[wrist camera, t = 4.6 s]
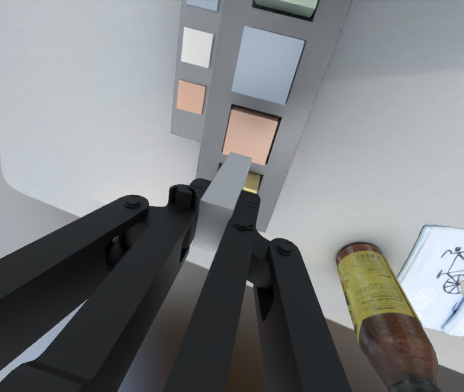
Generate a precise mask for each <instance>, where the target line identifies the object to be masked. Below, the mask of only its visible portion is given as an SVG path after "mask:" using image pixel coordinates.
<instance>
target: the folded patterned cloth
mask: <svg viewBox="0 0 464 392" xmlns="http://www.w3.org/2000/svg"><path fill="white" fill-rule="evenodd" d="M397 279H398V281H399V283H400V285H401V287H402V289H403V290H404V292H405V294H406V296H407V298H408V300H409V301H410V303H411V305H412V307H413V309H414V310H415V312H416V314H417V316H418V318H419V320H420V321H421V323H422V326H423V327H426V328H430V329H435V330H441V331H444V332H445V333H447V334H449V335H454V336H463V337H464V296H463V295H462V294H461V293H460V292H461V291H460V285H459V284H460V283H461V282H462V281H464V229H461V228H454V227H446V226H437V225H425V226H424V228H423V230H422V232H421V234H420V236H419V238H418V240H417V242H416V244H415V246H414V248H413V250H412V252H411V254H410V256H409V257H408V259H407V261H406V263H405V265H404V267H403V268H402V270H401V272H400V274H399V275H398V277H397Z"/></svg>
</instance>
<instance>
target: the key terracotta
mask: <svg viewBox="0 0 464 392" xmlns="http://www.w3.org/2000/svg"><path fill="white" fill-rule="evenodd" d="M278 118H279V116H276V115H272V114H268V113H265V112H261V111H257V110H254V109H250V108H246V107H242V106H239V105H236V106H235V107H234V108H233V109H232V110H231V115H230V119H229V124H228V129H227V134H226V138H225V143H224V148H223V153H222V154H225V155H229V154H230V152H233V153H237V154H240V155H244V156H247V157H251V158H252V161H251V162H254V163H257V164H261V165H265V162H266V159H267V156H268V153H269V149H270V146H271V143H272V140H273V137H274V133H275V130H276V127H277V124H278Z"/></svg>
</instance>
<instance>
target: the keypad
mask: <svg viewBox="0 0 464 392" xmlns="http://www.w3.org/2000/svg"><path fill="white" fill-rule="evenodd" d="M351 2H352V0H318V1H317V5H316V8H315V10H314V14H313V17H312V20H311V22H310V21H306V20H302V19H298V18H293V17H289V16H285V15H281V14H277V13H273V12H269V11H265V10H261V9H257V5H256V3H255V1H254V0H182V8H181V19H180V31H179V42H178V53H177V65H176V76H175V87H174V99H173V110H172V121H171V134H174V135H178V136H181V137H185V138H188V139H192V140H196V141H199V142H201V148H200V155H199V161H198V167H197V174H196V179H198V178H203V179H206V180H209V181H213V179H214V177H215V175H216V174H217V172H218V170H219V169H220V167H221V165H222V164H223V163H224V162H225V160H226V159H227V157H228V155H225V154H222V153H223V148H224V143H225V138H226V134H227V129H228V124H229V119H230V115H231V110H232V109H233V108H234V107H235V105H239V106H242V107H246V108H250V109H254V110H257V111H261V112H265V113H268V114H272V115H276V116H280V117H281V118H280V121H279V124H278V127H277V131H276V134H275V137H274V140H273V143H272V146H271V150H270V153H269V156H267V159H266V162H265V165H261V164H257V163H254V162H251V164H250V168H249V171H251V172H254V173H258V174H261V175H262V178H261V181H260V184H259V187H258V191H257V194H258V195H259V197H260V199H261V202H260V207H259V212H258V217H257V222H256V229H257V230H258V231H261V232H266V229H267V227H268V224H269V221H270V219H271V216H272V213H273V211H274V208H275V205H276V202H277V200H278V197H279V194H280V192H281V189H282V186H283V184H284V181H285V178H286V176H287V173H288V170H289V168H290V165H291V162H292V160H293V157H294V154H295V152H296V149H297V146H298V144H299V141H300V138H301V136H302V133H303V130H304V128H305V125H306V122H307V120H308V117H309V114H310V112H311V109H312V106H313V104H314V101H315V98H316V96H317V93H318V90H319V88H320V85H321V82H322V80H323V77H324V74H325V72H326V69H327V66H328V64H329V61H330V58H331V56H332V53H333V50H334V48H335V45H336V42H337V40H338V37H339V34H340V32H341V29H342V26H343V24H344V21H345V18H346V16H347V13H348V10H349V8H350V5H351ZM244 26H248V27H252V28H256V29H260V30H264V31H268V32H272V33H276V34H280V35H284V36H288V37H292V38H296V39H300V40H304V41H305V42H304V46H303V49H302V52H301V55H300V58H299V61H298V65H297V68H296V71H295V74H294V77H293V80H292V84H291V87H290V90H289V93H288V96H287V99H286V102H285V105H282V104H278V103H274V102H270V101H267V100H263V99H259V98H255V97H252V96H248V95H244V94H240V93H237V92H233V91H231V90H232V85H233V80H234V75H235V70H236V65H237V60H238V55H239V50H240V45H241V40H242V35H243V30H244Z"/></svg>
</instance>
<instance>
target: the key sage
mask: <svg viewBox="0 0 464 392" xmlns="http://www.w3.org/2000/svg"><path fill="white" fill-rule="evenodd" d="M254 1H255V3H256V5H259V6H264V7H268V8H272V9H276V10H280V11H284V12H288V13H292V14H296V15H300V16H304V17H308V18H310V17H311V15H312V13H313V12H314V10H315V8H316V5H317V1H318V0H254Z"/></svg>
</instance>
